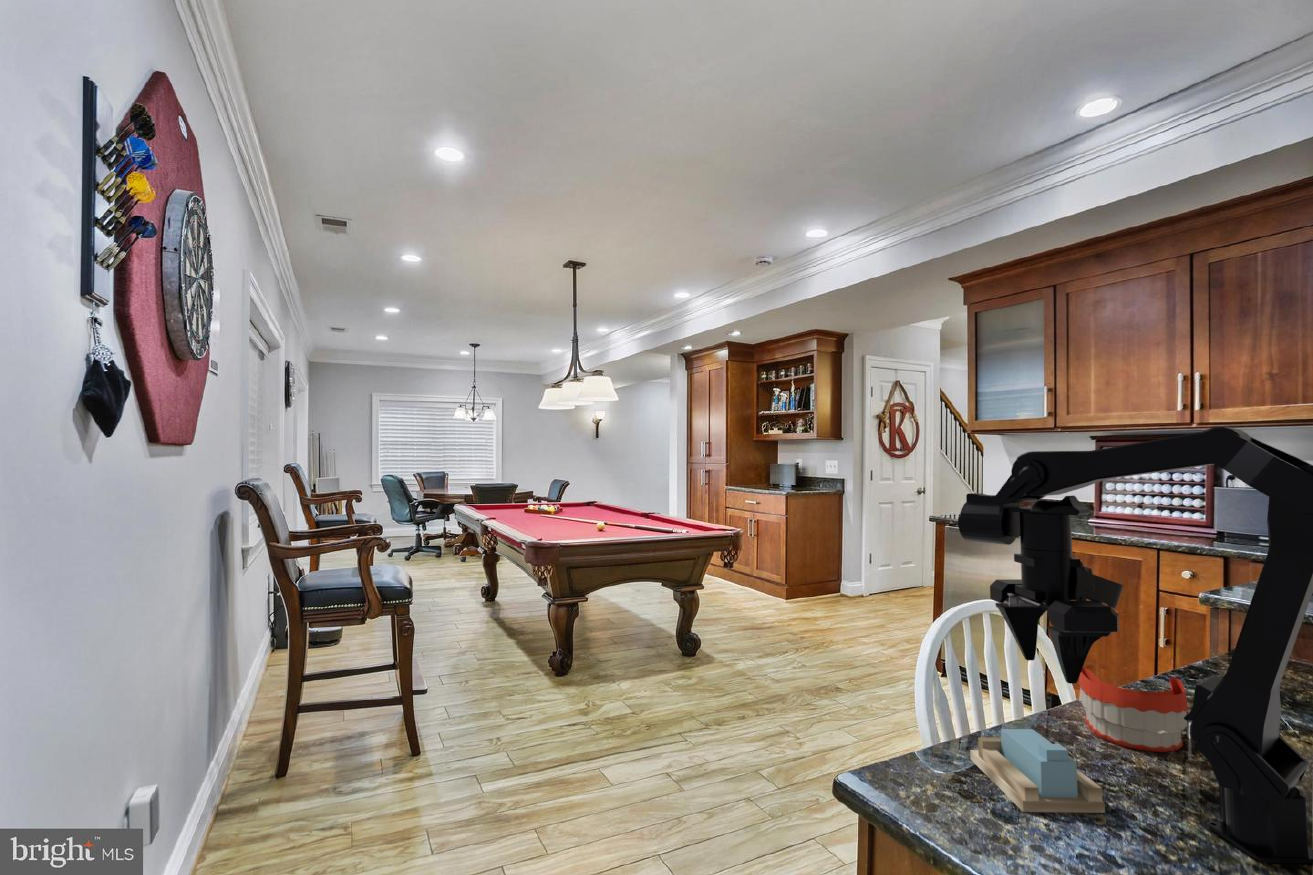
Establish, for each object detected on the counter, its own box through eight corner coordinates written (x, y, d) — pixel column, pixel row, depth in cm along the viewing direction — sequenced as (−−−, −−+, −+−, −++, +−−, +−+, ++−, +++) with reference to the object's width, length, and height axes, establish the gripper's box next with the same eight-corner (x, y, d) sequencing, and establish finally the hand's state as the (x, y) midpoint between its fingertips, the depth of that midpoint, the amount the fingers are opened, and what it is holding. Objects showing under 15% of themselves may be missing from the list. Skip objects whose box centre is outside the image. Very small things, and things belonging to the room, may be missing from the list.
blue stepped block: (1077, 797, 73) (1076, 750, 74) (1041, 797, 73) (1040, 750, 74) (1033, 761, 82) (1032, 719, 83) (1001, 761, 82) (1000, 719, 83)
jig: (1104, 812, 72) (1103, 779, 72) (1023, 811, 73) (1022, 779, 73) (1039, 759, 85) (1038, 731, 85) (970, 759, 86) (969, 731, 86)
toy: (1088, 746, 89) (1086, 687, 90) (1079, 719, 99) (1077, 666, 99) (1204, 765, 84) (1201, 702, 84) (1182, 735, 93) (1180, 678, 93)
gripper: (1164, 558, 74) (1169, 697, 73) (1065, 539, 93) (1069, 650, 92) (1065, 559, 74) (1069, 697, 74) (986, 540, 93) (989, 649, 92)
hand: (1049, 670), depth 83 cm, fingers open, 9 cm apart
